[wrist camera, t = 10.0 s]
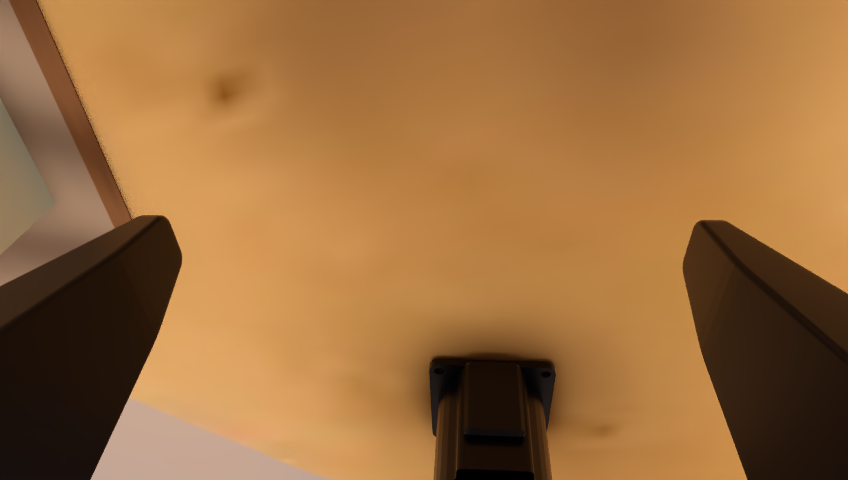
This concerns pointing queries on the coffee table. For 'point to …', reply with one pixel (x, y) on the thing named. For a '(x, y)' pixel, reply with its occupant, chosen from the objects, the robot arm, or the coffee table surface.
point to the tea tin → (18, 185)
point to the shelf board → (52, 144)
